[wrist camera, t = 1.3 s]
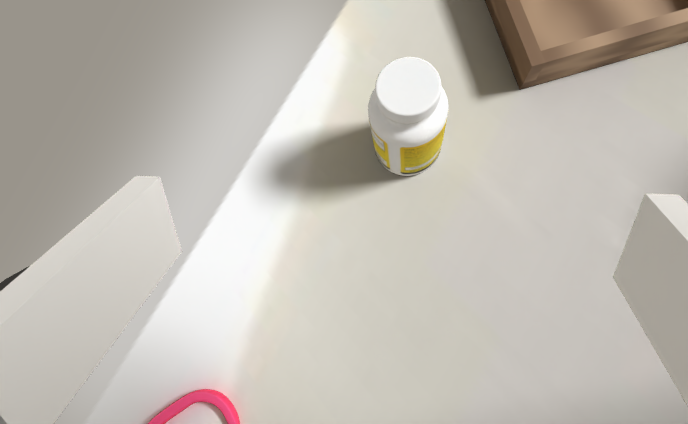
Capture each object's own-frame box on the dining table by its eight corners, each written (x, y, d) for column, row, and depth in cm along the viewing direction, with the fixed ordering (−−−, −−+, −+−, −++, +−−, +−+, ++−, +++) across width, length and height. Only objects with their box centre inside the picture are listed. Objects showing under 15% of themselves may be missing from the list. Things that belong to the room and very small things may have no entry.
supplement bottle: (451, 128, 35) (468, 62, 26) (424, 187, 35) (432, 141, 25) (390, 106, 36) (385, 35, 27) (363, 162, 36) (348, 109, 26)
